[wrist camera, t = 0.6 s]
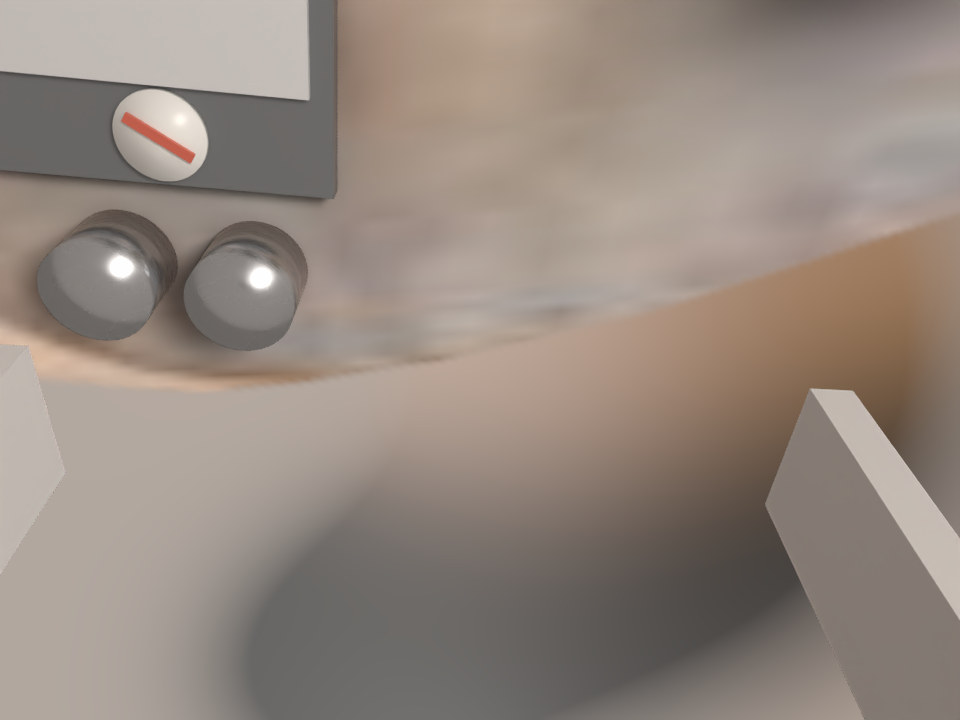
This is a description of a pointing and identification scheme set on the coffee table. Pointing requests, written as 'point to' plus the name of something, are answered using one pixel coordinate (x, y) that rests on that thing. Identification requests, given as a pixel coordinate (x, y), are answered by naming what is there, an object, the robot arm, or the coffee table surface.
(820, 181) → the coffee table surface
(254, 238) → the cylinder
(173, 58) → the dial scale
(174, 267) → the cylinder
